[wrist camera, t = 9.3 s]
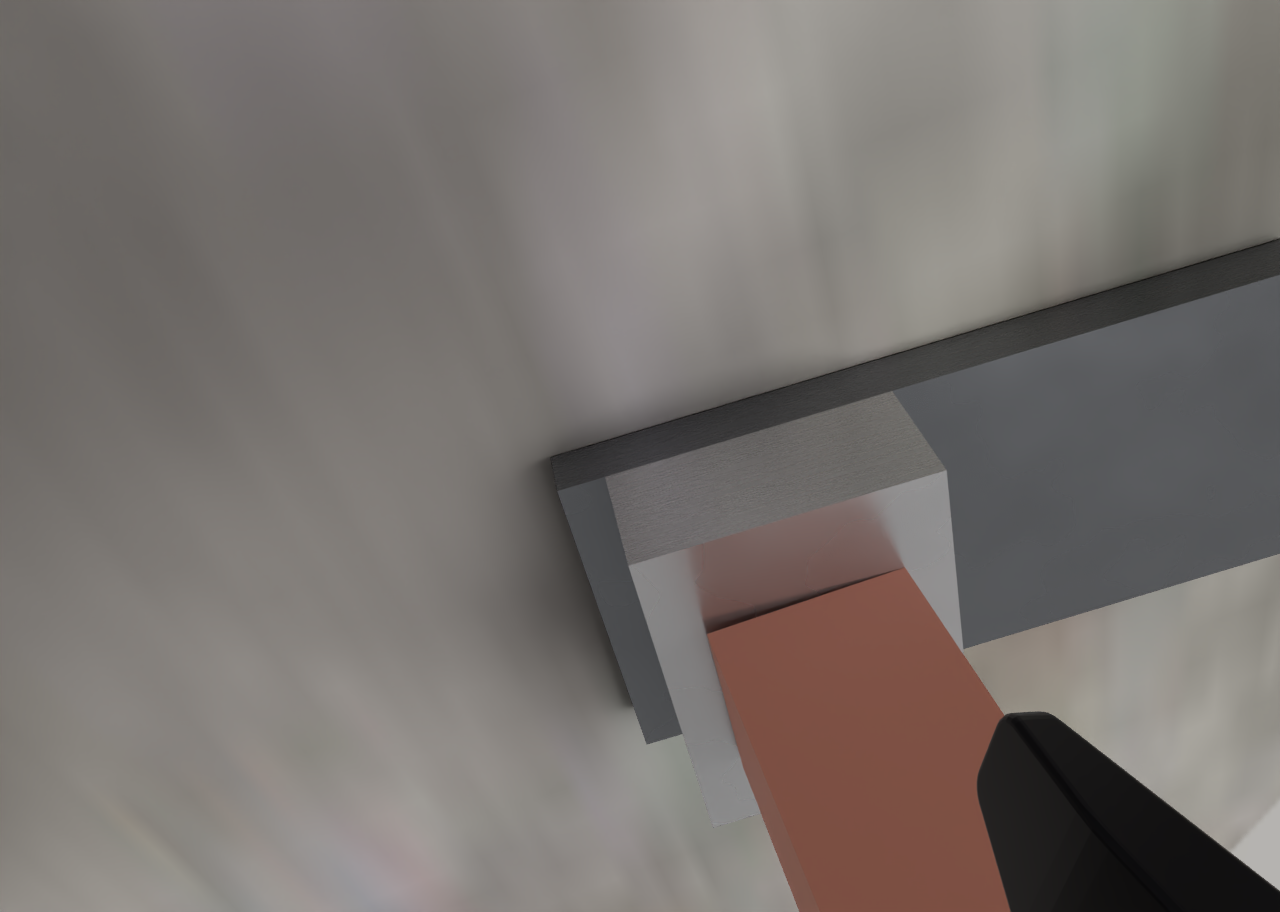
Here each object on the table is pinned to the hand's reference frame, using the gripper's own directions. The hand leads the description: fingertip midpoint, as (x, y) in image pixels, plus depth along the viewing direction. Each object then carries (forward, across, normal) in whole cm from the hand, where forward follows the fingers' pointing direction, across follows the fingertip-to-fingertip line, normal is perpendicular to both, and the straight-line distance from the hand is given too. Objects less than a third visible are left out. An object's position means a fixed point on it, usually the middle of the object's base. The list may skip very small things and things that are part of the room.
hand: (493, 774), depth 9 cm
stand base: (+13, -11, +7) cm, 19 cm away
